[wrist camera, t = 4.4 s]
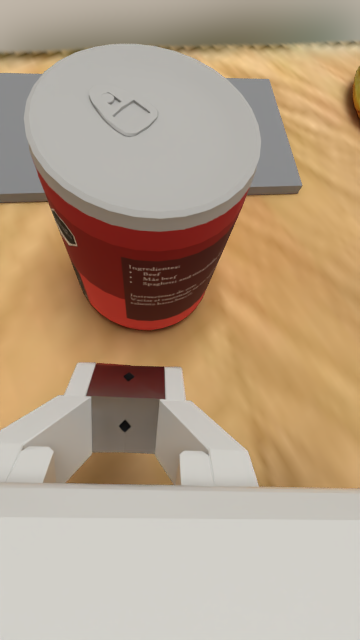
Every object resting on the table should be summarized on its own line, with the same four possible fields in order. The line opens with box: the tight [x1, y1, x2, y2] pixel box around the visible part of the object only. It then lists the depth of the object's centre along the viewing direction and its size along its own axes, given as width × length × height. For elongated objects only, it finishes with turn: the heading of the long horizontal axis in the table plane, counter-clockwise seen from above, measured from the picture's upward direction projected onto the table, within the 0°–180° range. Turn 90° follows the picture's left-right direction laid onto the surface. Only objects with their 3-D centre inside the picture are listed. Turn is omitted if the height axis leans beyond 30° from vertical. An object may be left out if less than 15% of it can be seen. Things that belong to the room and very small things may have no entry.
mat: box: [0, 73, 302, 203], centre depth 25 cm, size 11×22×1 cm, turn 98°
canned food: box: [24, 44, 261, 330], centre depth 16 cm, size 8×8×11 cm
